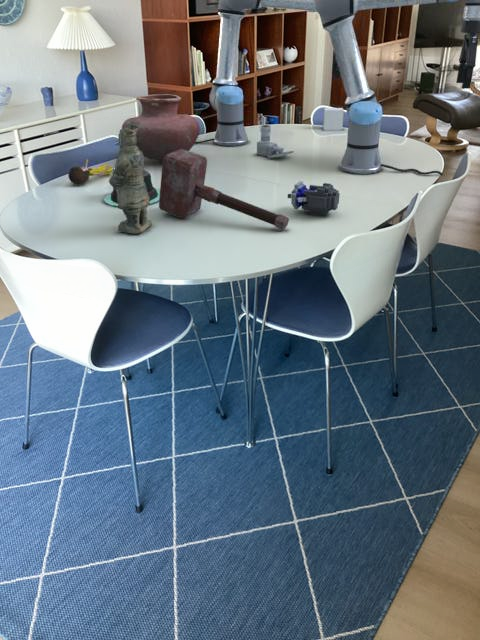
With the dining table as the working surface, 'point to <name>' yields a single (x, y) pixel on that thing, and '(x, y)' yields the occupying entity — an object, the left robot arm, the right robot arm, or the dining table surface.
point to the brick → (333, 118)
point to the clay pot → (163, 127)
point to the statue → (131, 182)
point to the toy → (315, 198)
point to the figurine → (87, 173)
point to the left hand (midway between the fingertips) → (335, 76)
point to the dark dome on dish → (152, 192)
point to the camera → (268, 144)
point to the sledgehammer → (200, 190)
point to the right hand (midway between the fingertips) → (462, 85)
